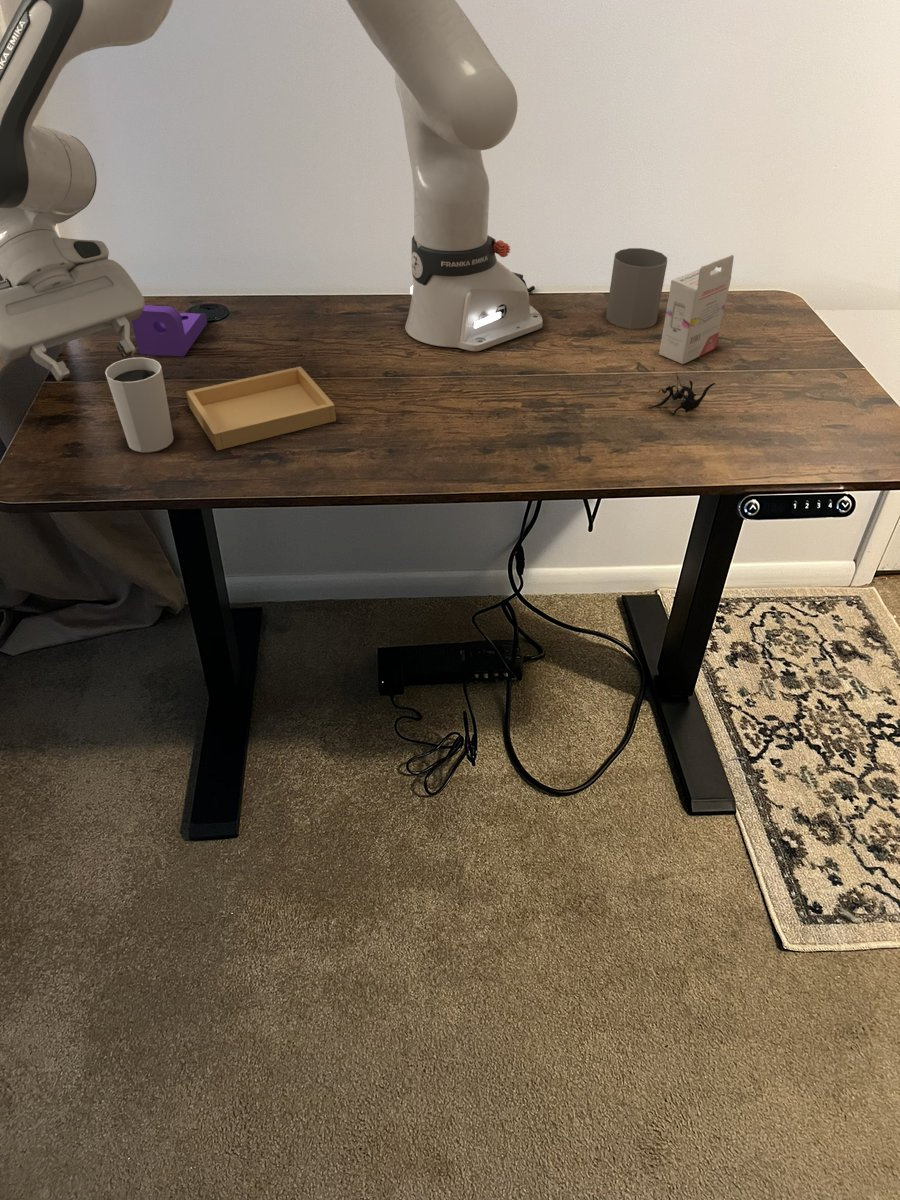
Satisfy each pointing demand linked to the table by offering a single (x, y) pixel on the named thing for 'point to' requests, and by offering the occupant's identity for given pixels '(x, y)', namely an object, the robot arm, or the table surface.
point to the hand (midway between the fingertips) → (97, 365)
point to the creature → (689, 401)
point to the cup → (636, 288)
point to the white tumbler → (141, 403)
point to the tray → (260, 407)
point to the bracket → (167, 330)
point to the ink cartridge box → (695, 311)
